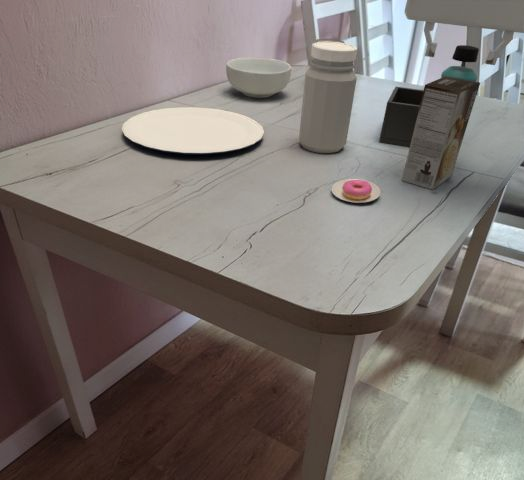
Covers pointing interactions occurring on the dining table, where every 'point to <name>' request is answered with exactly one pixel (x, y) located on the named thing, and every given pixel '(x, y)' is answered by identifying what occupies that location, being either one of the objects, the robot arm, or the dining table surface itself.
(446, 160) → the coffee box
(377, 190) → the donut
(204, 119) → the plate
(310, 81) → the jar
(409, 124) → the basket
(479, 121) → the dining table surface
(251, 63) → the cereal bowl
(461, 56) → the teal pump bottle
